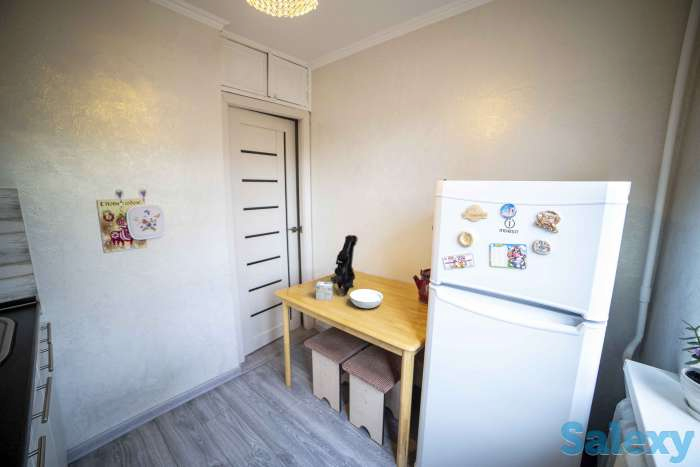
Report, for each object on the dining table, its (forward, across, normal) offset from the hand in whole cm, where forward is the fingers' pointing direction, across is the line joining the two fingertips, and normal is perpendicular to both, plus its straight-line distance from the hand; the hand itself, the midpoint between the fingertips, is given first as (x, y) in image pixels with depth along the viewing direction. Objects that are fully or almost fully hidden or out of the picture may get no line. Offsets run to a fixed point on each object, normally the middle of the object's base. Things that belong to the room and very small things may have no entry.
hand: (342, 292), depth 192 cm
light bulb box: (+1, +1, -14) cm, 14 cm away
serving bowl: (+1, +22, +6) cm, 23 cm away
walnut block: (+1, 0, 0) cm, 1 cm away
